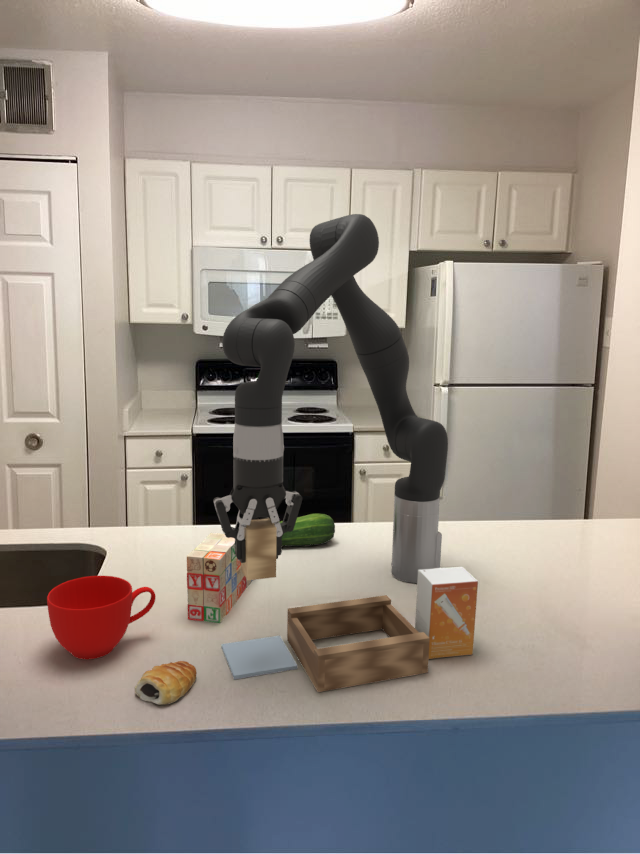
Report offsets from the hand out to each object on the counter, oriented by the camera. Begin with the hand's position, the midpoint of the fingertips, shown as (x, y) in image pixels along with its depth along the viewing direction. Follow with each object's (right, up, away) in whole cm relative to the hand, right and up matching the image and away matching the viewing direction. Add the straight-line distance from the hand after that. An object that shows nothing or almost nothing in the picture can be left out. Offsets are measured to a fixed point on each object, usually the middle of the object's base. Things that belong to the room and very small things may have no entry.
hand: (258, 558), depth 107 cm
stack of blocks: (-9, -12, +25) cm, 30 cm away
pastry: (-13, -18, -6) cm, 23 cm away
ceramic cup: (-26, -16, +6) cm, 31 cm away
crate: (+15, -17, +4) cm, 23 cm away
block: (0, -2, 0) cm, 2 cm away
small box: (+30, -16, +7) cm, 35 cm away
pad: (0, -16, +3) cm, 17 cm away
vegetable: (+3, -7, +53) cm, 54 cm away
